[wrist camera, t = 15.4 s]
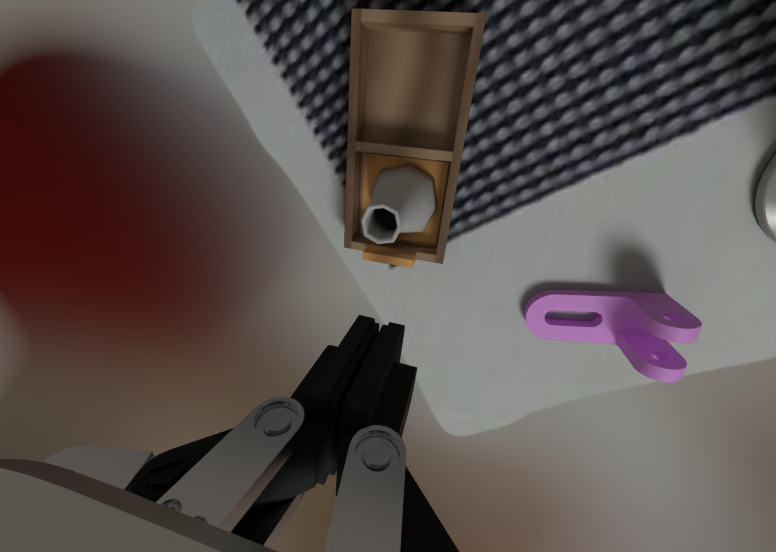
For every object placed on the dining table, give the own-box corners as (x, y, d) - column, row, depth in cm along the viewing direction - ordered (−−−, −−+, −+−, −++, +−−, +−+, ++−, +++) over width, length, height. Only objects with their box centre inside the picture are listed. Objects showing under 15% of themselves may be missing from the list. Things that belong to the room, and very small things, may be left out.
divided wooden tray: (484, 26, 27) (488, 1, 22) (444, 253, 35) (441, 272, 30) (363, 21, 28) (341, -4, 23) (353, 238, 37) (335, 254, 32)
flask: (374, 158, 32) (339, 166, 23) (445, 170, 31) (437, 184, 22) (366, 226, 35) (332, 258, 26) (430, 240, 34) (418, 277, 25)
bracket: (664, 292, 32) (712, 330, 26) (650, 339, 34) (691, 384, 28) (526, 287, 35) (539, 320, 29) (521, 331, 37) (532, 370, 31)
